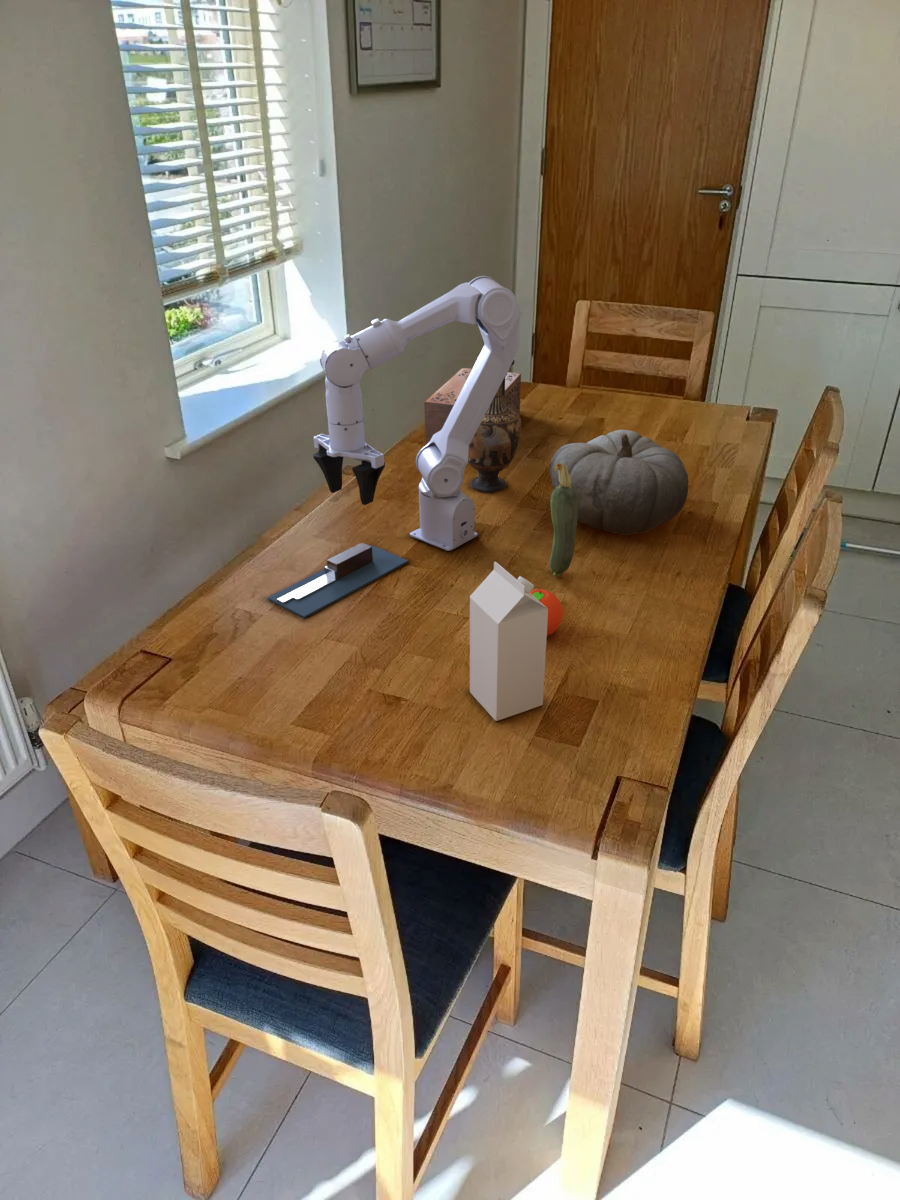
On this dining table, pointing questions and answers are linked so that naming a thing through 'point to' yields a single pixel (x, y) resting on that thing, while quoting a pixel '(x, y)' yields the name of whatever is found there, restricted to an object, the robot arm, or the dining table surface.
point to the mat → (339, 584)
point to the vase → (494, 443)
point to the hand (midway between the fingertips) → (351, 496)
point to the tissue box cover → (447, 395)
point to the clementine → (550, 608)
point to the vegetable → (563, 521)
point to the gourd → (623, 481)
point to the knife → (334, 571)
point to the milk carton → (507, 645)
